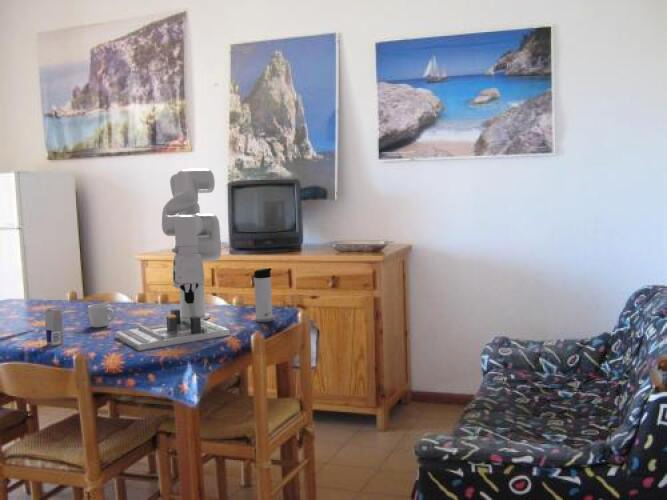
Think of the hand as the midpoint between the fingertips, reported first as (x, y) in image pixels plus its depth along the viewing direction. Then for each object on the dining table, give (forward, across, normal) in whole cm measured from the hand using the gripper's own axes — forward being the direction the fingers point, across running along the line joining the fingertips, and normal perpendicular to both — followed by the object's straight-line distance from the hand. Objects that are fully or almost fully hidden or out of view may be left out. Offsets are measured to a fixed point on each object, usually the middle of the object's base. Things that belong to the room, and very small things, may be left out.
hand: (189, 303), depth 238 cm
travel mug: (+11, +30, +2) cm, 32 cm away
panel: (+11, -6, +1) cm, 13 cm away
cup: (+10, -20, +35) cm, 42 cm away
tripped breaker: (+9, -7, +1) cm, 11 cm away
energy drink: (+11, -42, +17) cm, 46 cm away
